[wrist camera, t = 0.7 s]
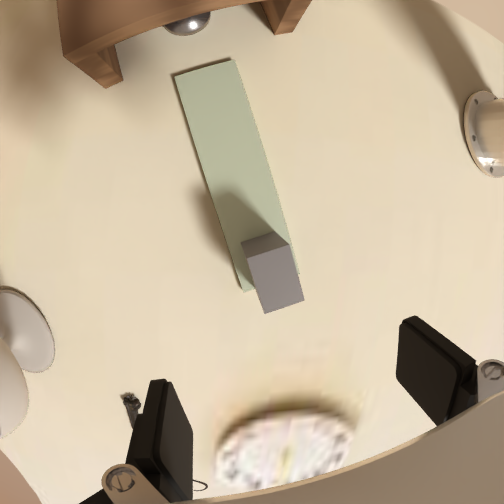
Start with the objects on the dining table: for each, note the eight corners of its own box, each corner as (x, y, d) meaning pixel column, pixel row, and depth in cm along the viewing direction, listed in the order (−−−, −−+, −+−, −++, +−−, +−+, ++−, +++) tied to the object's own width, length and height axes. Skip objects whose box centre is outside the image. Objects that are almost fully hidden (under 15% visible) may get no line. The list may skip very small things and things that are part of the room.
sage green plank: (233, 63, 26) (239, 33, 19) (297, 270, 32) (318, 295, 25) (175, 79, 26) (164, 53, 19) (242, 289, 32) (250, 318, 25)
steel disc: (203, -4, 23) (203, -9, 22) (216, 29, 25) (216, 24, 24) (158, 9, 23) (156, 4, 22) (169, 42, 25) (167, 38, 23)
